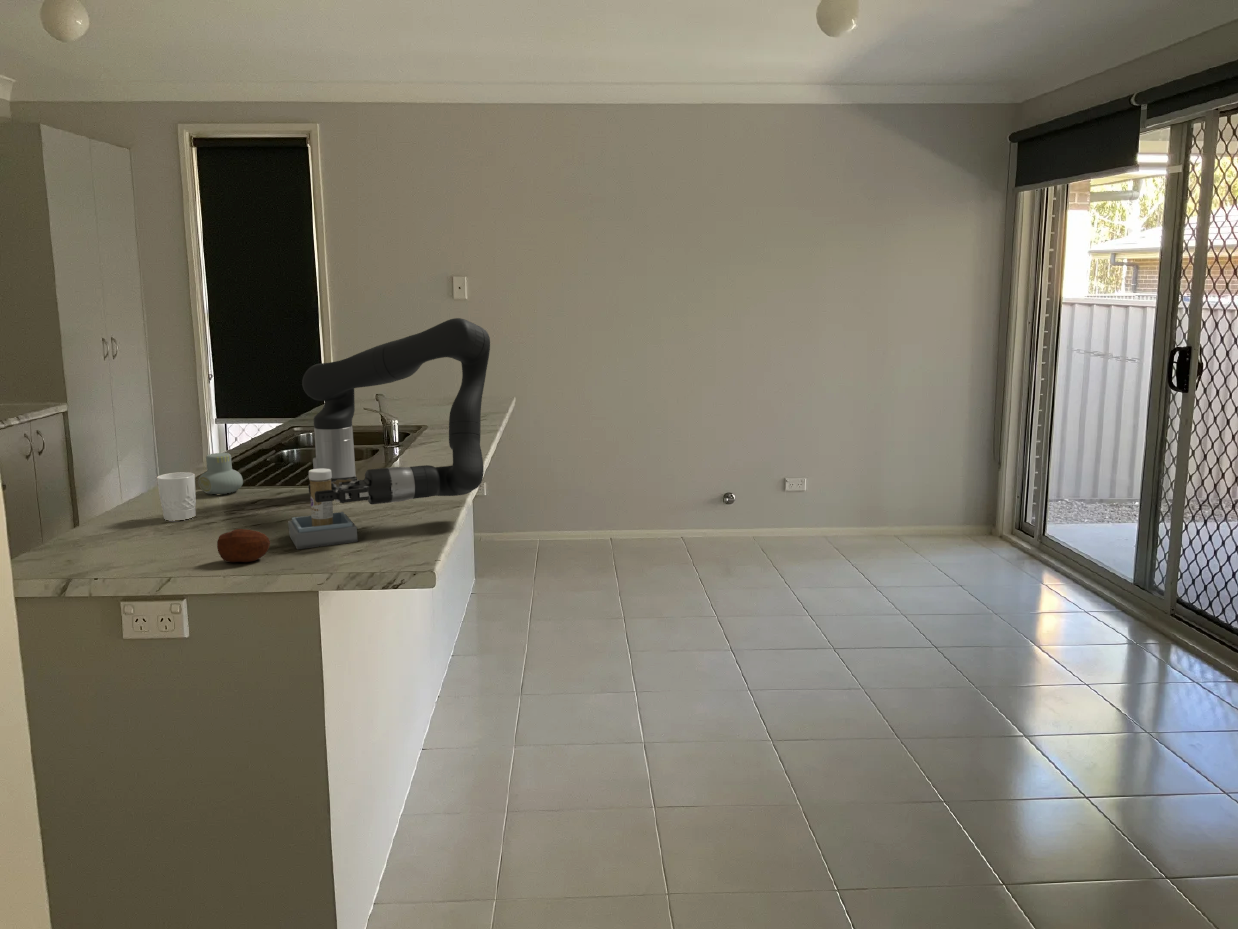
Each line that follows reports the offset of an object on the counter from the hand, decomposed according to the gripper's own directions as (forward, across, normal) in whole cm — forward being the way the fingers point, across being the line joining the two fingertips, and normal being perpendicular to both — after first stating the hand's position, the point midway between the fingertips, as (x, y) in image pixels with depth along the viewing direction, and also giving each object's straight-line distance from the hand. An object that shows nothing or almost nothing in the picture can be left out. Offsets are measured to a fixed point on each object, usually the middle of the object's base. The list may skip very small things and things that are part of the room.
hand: (311, 493), depth 200 cm
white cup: (+25, -34, +10) cm, 44 cm away
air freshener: (+14, -59, +10) cm, 61 cm away
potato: (+15, +10, +10) cm, 20 cm away
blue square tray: (-2, 0, +10) cm, 10 cm away
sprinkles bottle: (-2, 0, +9) cm, 9 cm away
